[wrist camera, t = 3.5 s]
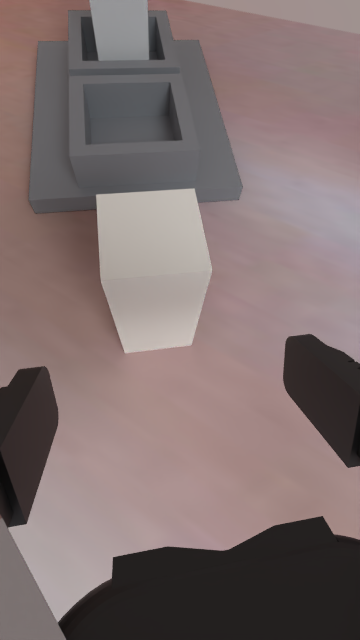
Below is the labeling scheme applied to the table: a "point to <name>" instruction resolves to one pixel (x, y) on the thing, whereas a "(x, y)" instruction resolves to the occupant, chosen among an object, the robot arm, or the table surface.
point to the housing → (125, 113)
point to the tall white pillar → (153, 266)
